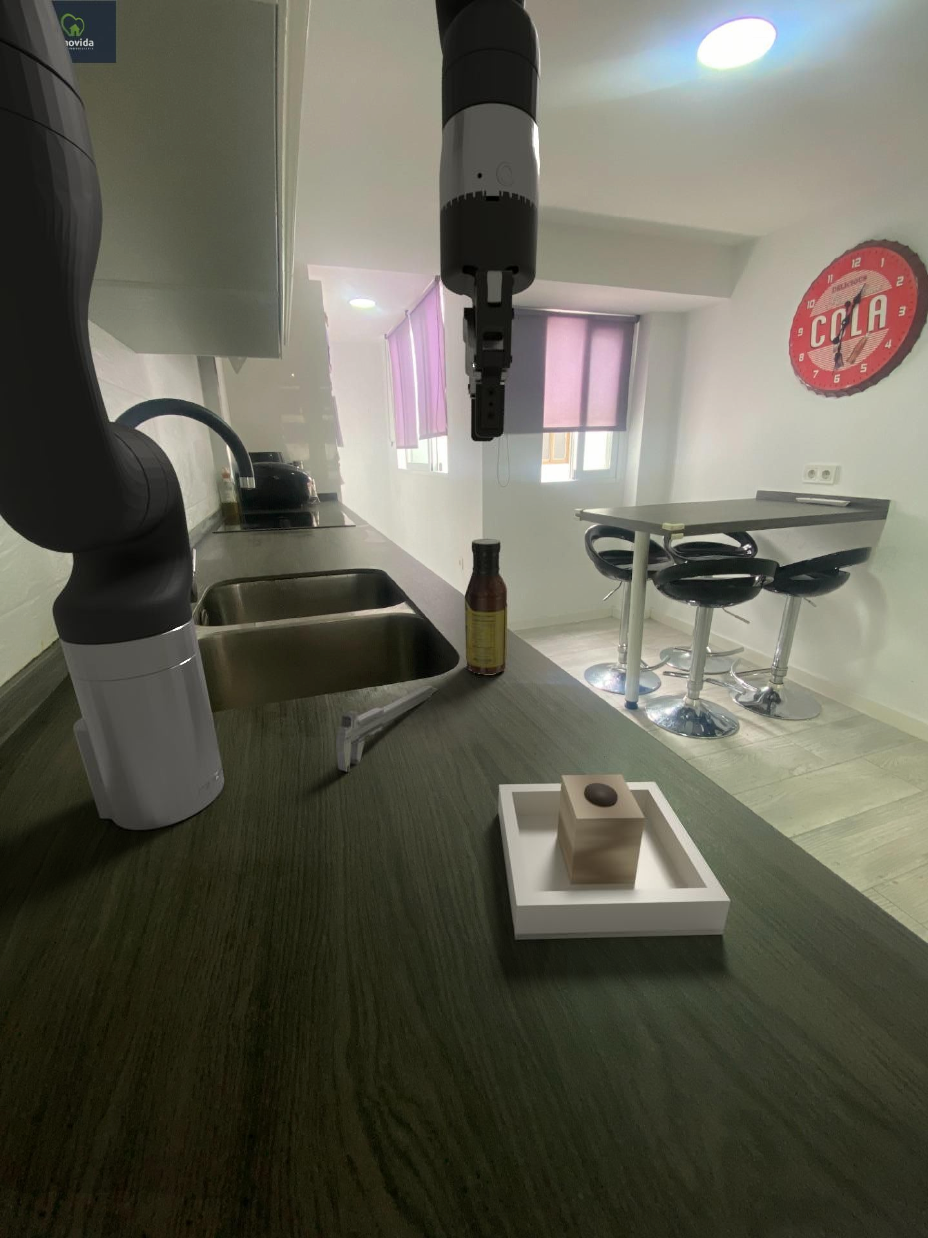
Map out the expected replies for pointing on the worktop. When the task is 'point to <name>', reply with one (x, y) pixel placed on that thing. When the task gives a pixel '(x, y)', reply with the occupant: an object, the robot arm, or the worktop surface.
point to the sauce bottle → (486, 610)
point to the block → (599, 829)
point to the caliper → (371, 726)
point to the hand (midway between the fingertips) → (485, 439)
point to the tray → (652, 906)
